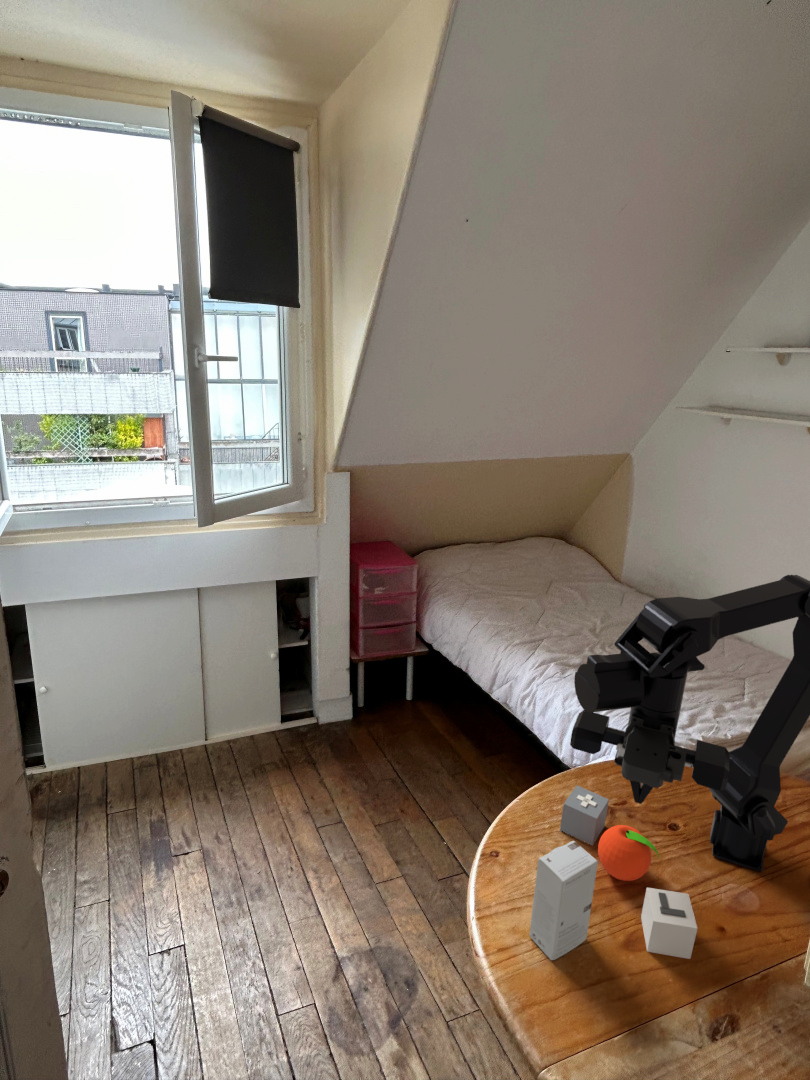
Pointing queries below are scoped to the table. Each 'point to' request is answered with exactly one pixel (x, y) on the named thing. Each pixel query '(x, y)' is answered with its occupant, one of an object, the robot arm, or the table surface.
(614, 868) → the clementine
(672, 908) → the pale grey block
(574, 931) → the skincare box
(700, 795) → the table surface
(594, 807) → the slate block
